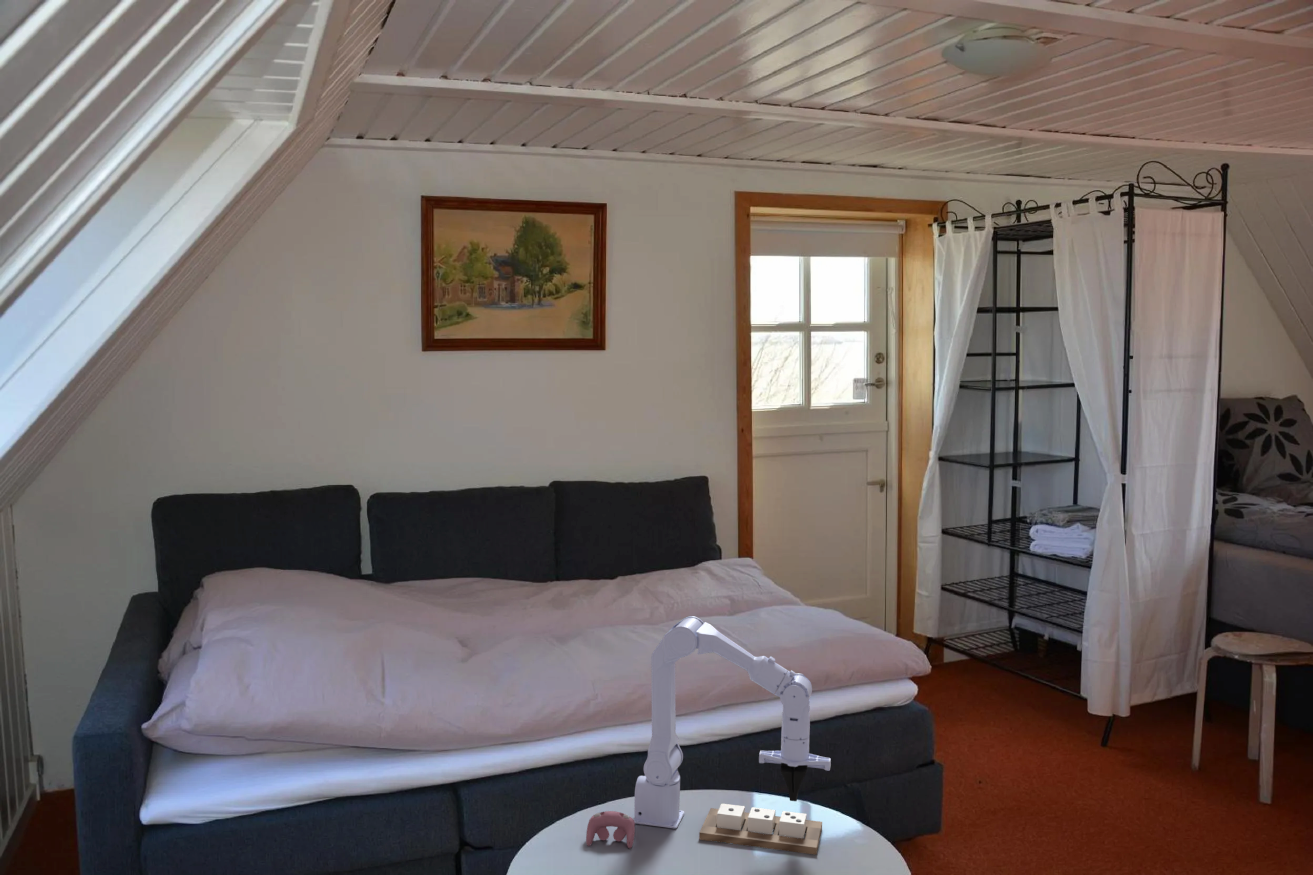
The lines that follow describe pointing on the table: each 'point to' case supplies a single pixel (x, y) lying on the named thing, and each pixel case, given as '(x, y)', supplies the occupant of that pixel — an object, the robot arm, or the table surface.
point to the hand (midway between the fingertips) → (793, 798)
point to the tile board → (762, 835)
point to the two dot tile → (761, 820)
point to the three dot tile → (792, 824)
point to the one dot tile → (730, 816)
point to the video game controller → (615, 820)
